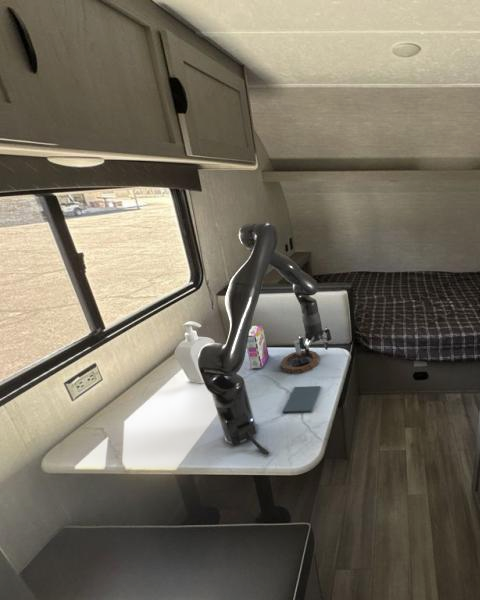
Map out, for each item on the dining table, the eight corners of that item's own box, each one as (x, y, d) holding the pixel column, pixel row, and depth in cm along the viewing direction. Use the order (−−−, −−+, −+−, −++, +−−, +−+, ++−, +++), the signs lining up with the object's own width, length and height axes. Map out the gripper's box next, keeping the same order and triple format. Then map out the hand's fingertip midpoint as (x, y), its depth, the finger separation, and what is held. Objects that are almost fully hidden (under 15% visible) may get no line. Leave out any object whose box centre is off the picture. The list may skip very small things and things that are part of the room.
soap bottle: (204, 386, 127) (186, 330, 118) (184, 384, 129) (165, 328, 120) (226, 369, 138) (211, 317, 129) (207, 367, 140) (191, 315, 131)
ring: (323, 365, 139) (323, 361, 138) (287, 377, 131) (286, 373, 130) (312, 350, 152) (311, 346, 151) (278, 361, 144) (277, 357, 143)
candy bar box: (262, 368, 138) (255, 335, 132) (251, 369, 138) (243, 336, 132) (269, 355, 149) (263, 324, 143) (258, 356, 148) (251, 325, 142)
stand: (309, 363, 141) (305, 342, 136) (296, 368, 138) (291, 346, 133) (305, 358, 145) (301, 337, 141) (292, 362, 142) (288, 340, 138)
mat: (311, 412, 111) (310, 410, 111) (283, 413, 111) (282, 411, 111) (320, 387, 124) (320, 386, 124) (295, 388, 124) (295, 386, 124)
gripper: (298, 329, 132) (305, 361, 139) (330, 319, 139) (335, 350, 146) (293, 322, 138) (300, 353, 144) (324, 313, 145) (329, 343, 151)
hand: (317, 351), depth 145 cm, fingers open, 8 cm apart
